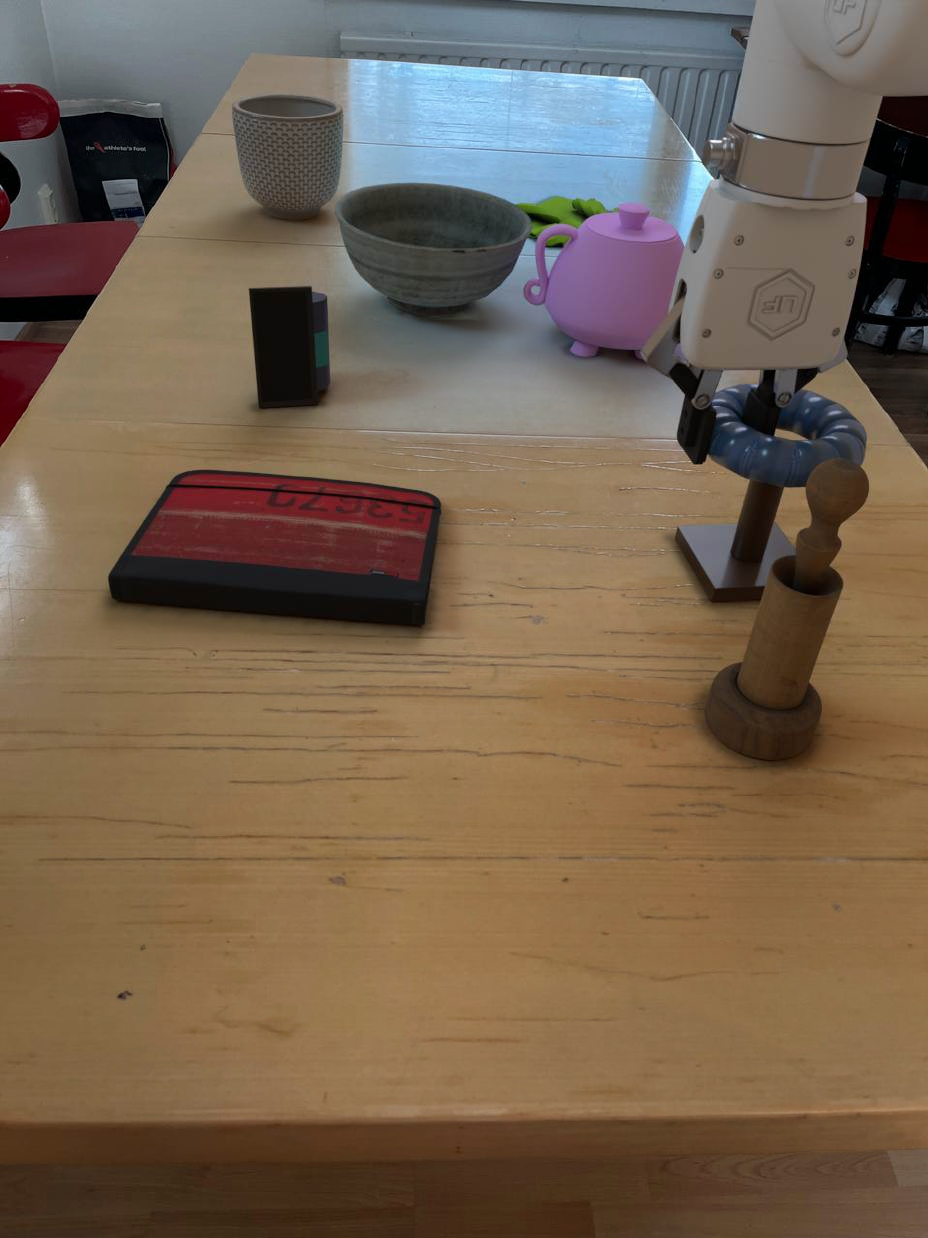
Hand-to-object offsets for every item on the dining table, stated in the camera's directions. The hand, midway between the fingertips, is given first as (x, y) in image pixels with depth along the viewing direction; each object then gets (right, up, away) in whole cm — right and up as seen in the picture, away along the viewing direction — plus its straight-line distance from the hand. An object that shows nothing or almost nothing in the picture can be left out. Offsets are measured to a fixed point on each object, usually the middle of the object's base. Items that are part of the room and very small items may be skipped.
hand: (721, 451), depth 67 cm
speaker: (-33, +10, +25) cm, 43 cm away
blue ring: (+4, +1, 0) cm, 4 cm away
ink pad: (-30, -6, +5) cm, 31 cm away
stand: (+3, -7, +7) cm, 11 cm away
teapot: (-1, +18, +39) cm, 43 cm away
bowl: (-21, +24, +44) cm, 54 cm away
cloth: (-2, +43, +70) cm, 83 cm away
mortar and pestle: (+1, -18, -6) cm, 19 cm away
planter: (-40, +43, +66) cm, 89 cm away
